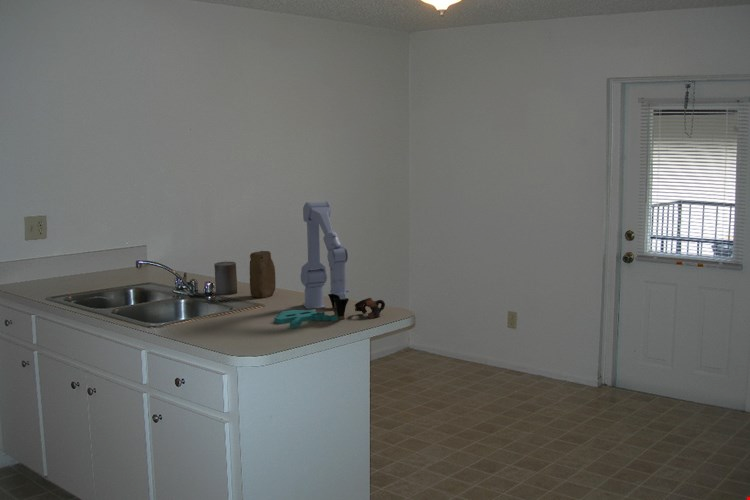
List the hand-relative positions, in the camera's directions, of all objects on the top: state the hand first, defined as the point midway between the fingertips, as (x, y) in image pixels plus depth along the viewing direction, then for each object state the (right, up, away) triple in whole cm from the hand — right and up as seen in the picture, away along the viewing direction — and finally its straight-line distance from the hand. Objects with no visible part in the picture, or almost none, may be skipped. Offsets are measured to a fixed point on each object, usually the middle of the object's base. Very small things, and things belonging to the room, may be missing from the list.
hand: (338, 314), depth 297 cm
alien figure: (-14, -3, -1) cm, 14 cm away
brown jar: (-35, +4, +45) cm, 57 cm away
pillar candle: (-53, +5, +53) cm, 75 cm away
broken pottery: (+12, -1, +4) cm, 13 cm away
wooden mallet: (-3, -2, -1) cm, 4 cm away
